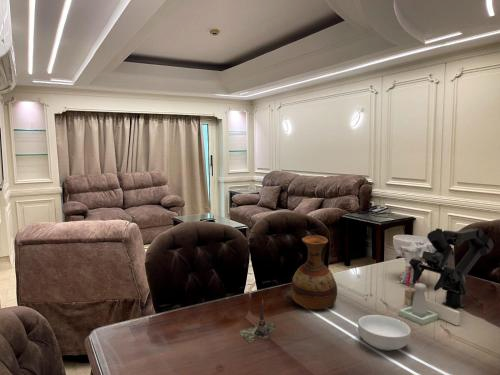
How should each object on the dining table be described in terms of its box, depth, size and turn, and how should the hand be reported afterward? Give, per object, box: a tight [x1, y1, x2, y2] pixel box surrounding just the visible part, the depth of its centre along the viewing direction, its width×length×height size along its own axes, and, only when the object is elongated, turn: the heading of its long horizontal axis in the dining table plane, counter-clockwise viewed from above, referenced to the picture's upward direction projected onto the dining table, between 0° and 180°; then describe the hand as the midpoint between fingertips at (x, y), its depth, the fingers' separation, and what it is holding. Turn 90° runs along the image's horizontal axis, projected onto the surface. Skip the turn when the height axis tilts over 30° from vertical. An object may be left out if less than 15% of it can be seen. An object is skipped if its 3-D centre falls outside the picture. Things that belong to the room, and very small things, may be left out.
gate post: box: [403, 288, 416, 307], centre depth 160 cm, size 3×3×7 cm
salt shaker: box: [411, 282, 427, 318], centre depth 147 cm, size 6×6×13 cm
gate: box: [412, 294, 461, 326], centre depth 149 cm, size 2×20×5 cm, turn 27°
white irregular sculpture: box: [392, 234, 436, 287], centre depth 187 cm, size 25×19×23 cm
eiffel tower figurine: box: [238, 298, 277, 343], centre depth 131 cm, size 15×10×13 cm
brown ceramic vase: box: [290, 234, 338, 310], centre depth 158 cm, size 20×20×30 cm
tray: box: [398, 306, 439, 326], centre depth 147 cm, size 10×10×2 cm
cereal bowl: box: [357, 314, 412, 351], centre depth 124 cm, size 17×17×7 cm
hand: (423, 286), depth 148 cm, fingers open, 9 cm apart
